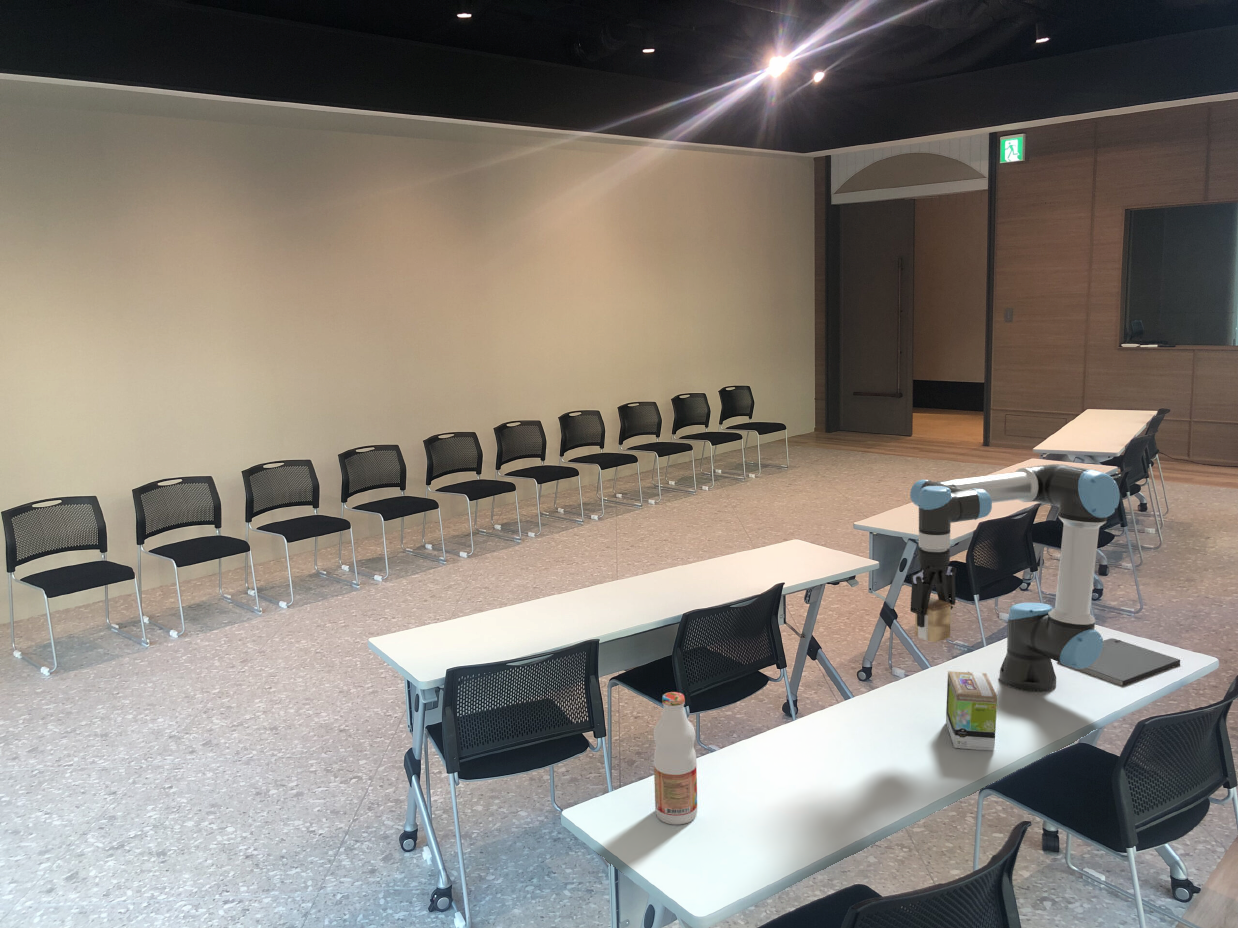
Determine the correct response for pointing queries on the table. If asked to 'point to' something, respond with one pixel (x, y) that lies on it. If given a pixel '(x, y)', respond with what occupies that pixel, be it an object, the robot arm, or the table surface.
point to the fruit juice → (675, 763)
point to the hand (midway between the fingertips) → (932, 635)
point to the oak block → (937, 620)
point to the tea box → (971, 710)
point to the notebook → (1128, 662)
